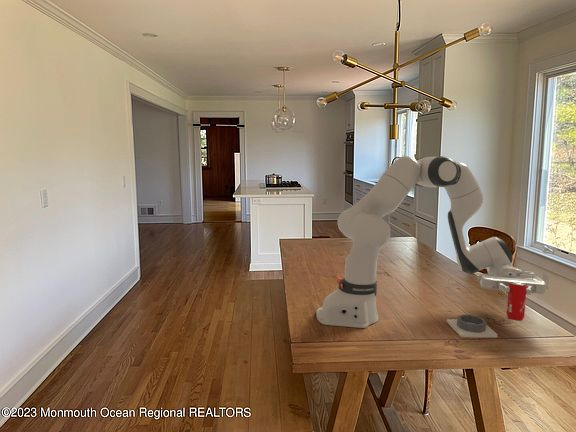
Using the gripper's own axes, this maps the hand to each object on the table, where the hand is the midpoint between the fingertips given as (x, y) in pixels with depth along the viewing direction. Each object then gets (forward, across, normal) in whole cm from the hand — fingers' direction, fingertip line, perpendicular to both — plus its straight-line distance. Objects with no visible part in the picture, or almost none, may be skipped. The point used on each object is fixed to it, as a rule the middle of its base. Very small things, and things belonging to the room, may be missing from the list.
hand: (518, 291), depth 138 cm
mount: (0, -13, +15) cm, 20 cm away
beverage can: (0, 0, +10) cm, 10 cm away
